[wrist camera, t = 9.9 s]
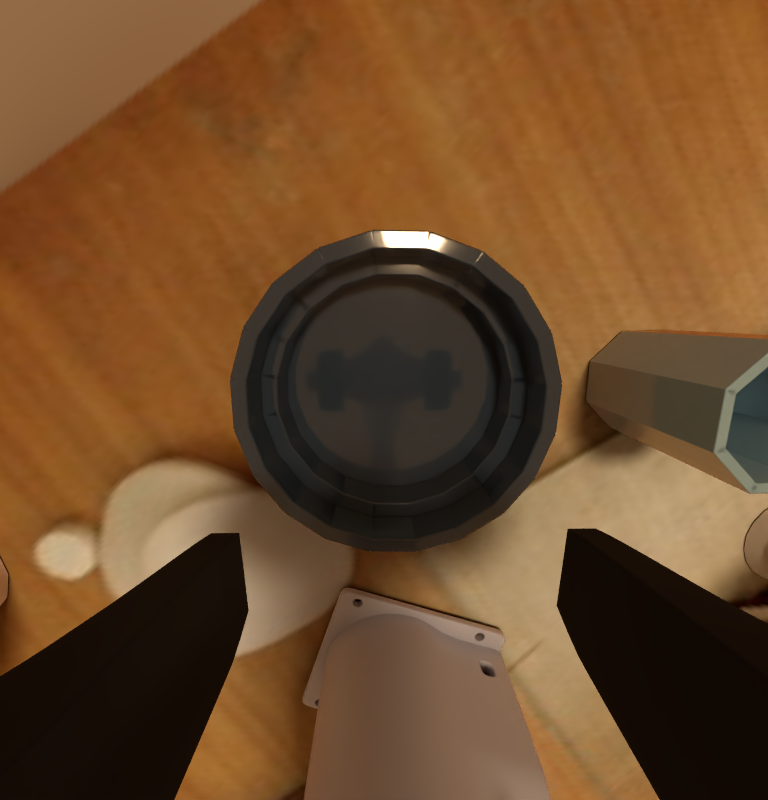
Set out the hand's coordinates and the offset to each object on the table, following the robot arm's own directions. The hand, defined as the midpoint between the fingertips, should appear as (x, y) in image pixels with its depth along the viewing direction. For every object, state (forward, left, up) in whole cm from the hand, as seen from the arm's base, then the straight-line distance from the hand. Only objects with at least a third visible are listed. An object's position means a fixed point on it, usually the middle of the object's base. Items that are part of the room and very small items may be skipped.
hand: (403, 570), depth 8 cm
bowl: (+1, -2, -10) cm, 10 cm away
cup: (-10, -6, -10) cm, 16 cm away
